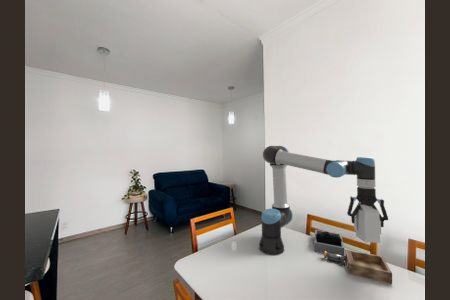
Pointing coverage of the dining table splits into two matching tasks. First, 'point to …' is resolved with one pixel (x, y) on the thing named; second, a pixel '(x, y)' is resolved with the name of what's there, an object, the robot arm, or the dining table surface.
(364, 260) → the wooden tray
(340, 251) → the valet tray
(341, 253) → the pin mount
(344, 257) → the lock pin
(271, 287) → the dining table surface
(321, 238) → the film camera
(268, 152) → the robot arm
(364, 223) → the milk carton
